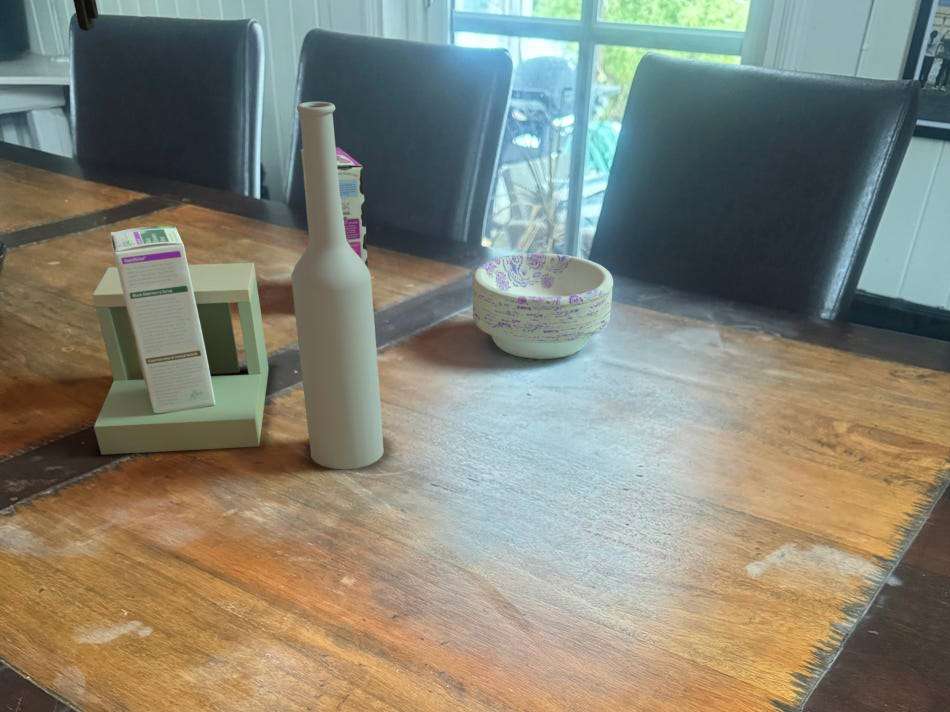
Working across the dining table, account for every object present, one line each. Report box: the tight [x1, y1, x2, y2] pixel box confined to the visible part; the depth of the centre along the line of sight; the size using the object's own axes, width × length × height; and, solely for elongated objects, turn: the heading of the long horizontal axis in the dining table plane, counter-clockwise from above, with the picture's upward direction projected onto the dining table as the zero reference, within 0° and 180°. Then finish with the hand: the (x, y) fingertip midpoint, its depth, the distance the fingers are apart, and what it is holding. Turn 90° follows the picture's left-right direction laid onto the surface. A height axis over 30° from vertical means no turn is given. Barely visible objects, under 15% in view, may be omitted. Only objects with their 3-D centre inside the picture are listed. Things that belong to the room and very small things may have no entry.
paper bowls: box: [472, 252, 614, 360], centre depth 104 cm, size 15×15×8 cm
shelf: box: [92, 262, 270, 455], centre depth 89 cm, size 14×18×11 cm
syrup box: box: [110, 225, 215, 413], centre depth 83 cm, size 6×6×14 cm
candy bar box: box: [300, 146, 369, 269], centre depth 112 cm, size 11×5×16 cm, turn 21°
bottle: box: [291, 101, 385, 470], centre depth 77 cm, size 7×7×28 cm
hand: (31, 29), depth 84 cm, fingers open, 9 cm apart
